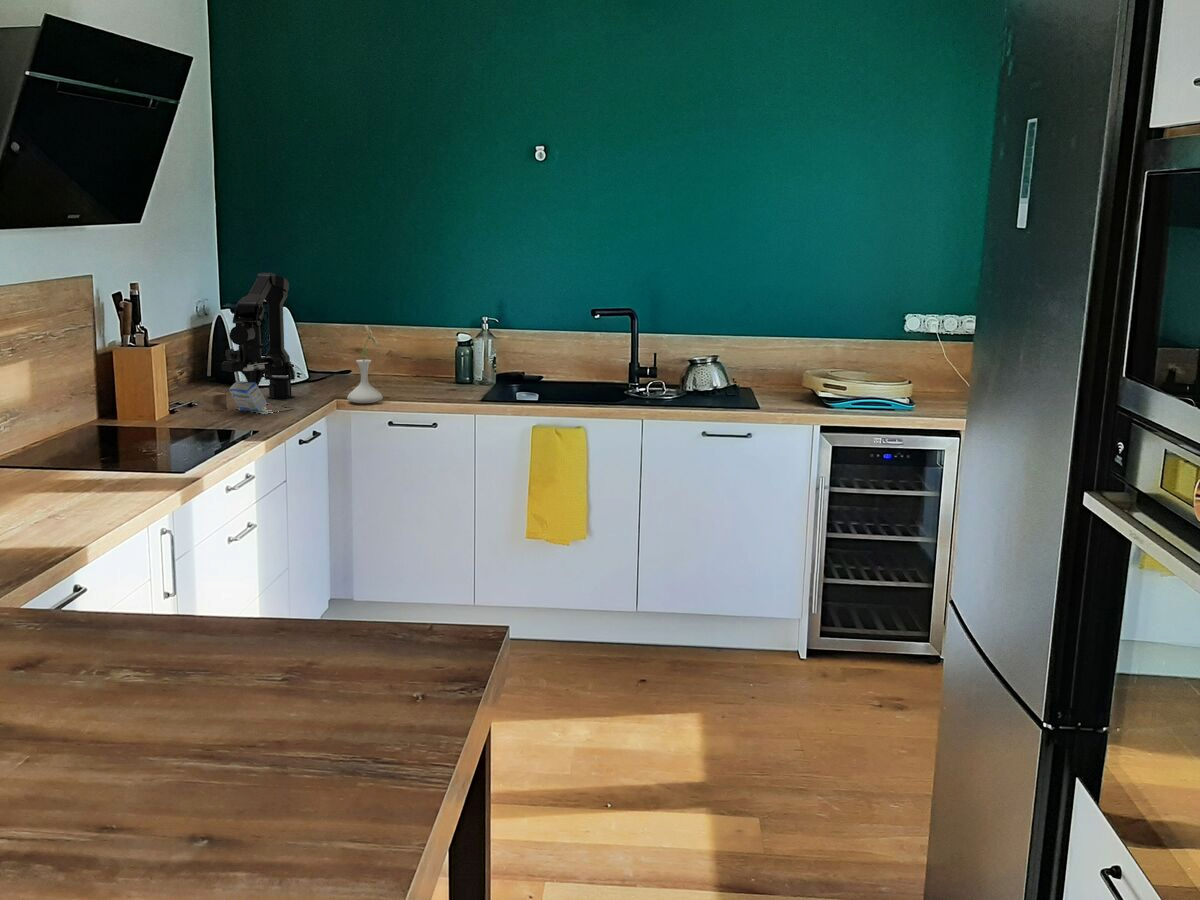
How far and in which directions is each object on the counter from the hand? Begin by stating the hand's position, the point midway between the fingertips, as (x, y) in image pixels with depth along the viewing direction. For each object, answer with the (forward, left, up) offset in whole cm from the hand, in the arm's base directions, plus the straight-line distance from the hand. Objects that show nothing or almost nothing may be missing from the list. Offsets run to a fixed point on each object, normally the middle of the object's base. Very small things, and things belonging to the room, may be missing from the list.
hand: (253, 391), depth 361 cm
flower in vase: (-33, +14, -6) cm, 37 cm away
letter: (-4, 0, -6) cm, 8 cm away
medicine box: (0, 0, -5) cm, 5 cm away
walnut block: (+6, -12, -6) cm, 15 cm away
